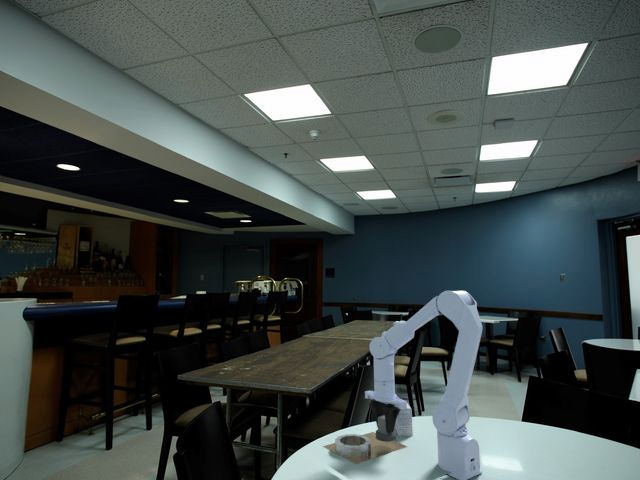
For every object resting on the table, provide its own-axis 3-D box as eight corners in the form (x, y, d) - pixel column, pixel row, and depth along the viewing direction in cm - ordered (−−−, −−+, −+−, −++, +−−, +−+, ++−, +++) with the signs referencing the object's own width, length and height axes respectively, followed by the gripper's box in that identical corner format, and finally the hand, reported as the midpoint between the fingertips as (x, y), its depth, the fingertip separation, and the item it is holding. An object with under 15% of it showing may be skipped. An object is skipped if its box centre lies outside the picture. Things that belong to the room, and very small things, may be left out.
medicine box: (413, 438, 119) (412, 408, 120) (398, 438, 119) (397, 408, 120) (407, 429, 127) (407, 401, 128) (393, 429, 127) (393, 401, 128)
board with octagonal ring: (407, 449, 111) (407, 437, 111) (355, 467, 100) (355, 453, 100) (372, 434, 122) (372, 423, 122) (323, 449, 111) (322, 436, 111)
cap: (400, 438, 110) (399, 417, 111) (385, 443, 107) (385, 421, 108) (385, 432, 115) (385, 412, 116) (371, 437, 112) (371, 416, 112)
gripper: (413, 382, 109) (415, 434, 108) (376, 373, 121) (378, 420, 119) (395, 386, 105) (397, 440, 104) (359, 377, 117) (360, 425, 115)
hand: (385, 430), depth 111 cm, fingers closed on cap, 3 cm apart
